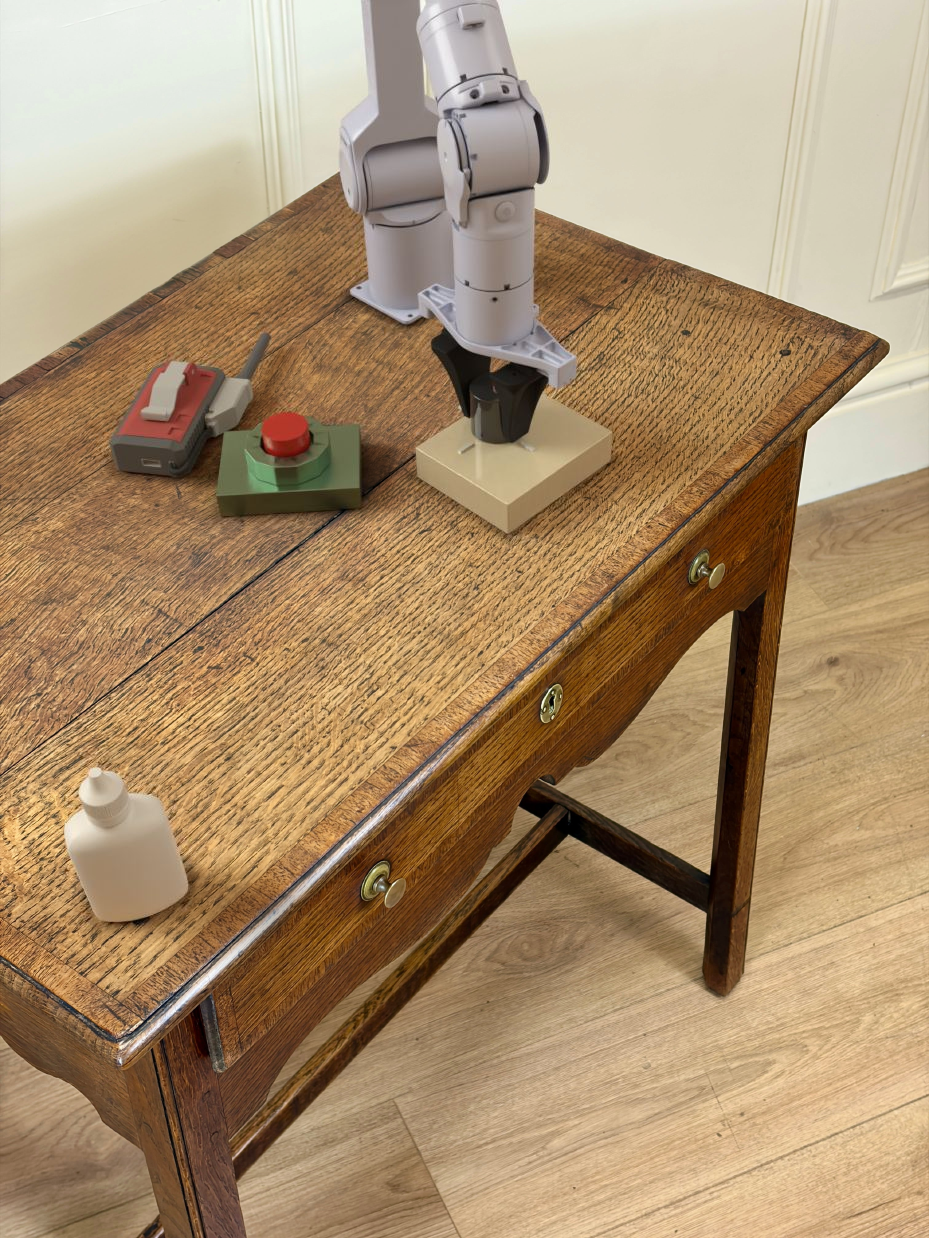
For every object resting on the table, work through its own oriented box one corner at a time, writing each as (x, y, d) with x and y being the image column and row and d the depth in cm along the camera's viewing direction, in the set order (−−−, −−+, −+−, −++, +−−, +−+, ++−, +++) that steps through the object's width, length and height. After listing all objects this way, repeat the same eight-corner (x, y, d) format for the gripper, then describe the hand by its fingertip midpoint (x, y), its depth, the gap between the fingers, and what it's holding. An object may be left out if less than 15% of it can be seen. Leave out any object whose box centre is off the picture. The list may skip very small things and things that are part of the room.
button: (311, 428, 103) (308, 410, 101) (310, 457, 100) (307, 439, 99) (265, 431, 102) (262, 413, 101) (263, 460, 100) (260, 442, 99)
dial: (460, 428, 103) (458, 383, 100) (495, 406, 105) (494, 361, 102) (496, 450, 101) (495, 405, 98) (531, 427, 103) (532, 382, 100)
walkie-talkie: (209, 492, 103) (280, 348, 117) (199, 448, 100) (274, 306, 114) (105, 481, 104) (187, 340, 118) (92, 437, 101) (178, 298, 115)
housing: (361, 444, 107) (357, 405, 104) (362, 508, 101) (357, 469, 98) (227, 452, 107) (219, 413, 104) (220, 517, 101) (212, 477, 98)
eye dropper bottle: (109, 858, 79) (60, 734, 71) (198, 869, 79) (158, 745, 70) (83, 921, 76) (28, 799, 68) (175, 933, 76) (131, 811, 67)
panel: (510, 404, 110) (510, 373, 108) (610, 461, 104) (613, 429, 102) (407, 471, 104) (405, 439, 102) (507, 534, 99) (507, 503, 96)
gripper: (608, 285, 91) (599, 439, 101) (462, 215, 98) (467, 365, 108) (539, 326, 88) (537, 482, 97) (393, 251, 95) (405, 403, 105)
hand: (496, 423), depth 103 cm, fingers closed on dial, 4 cm apart
